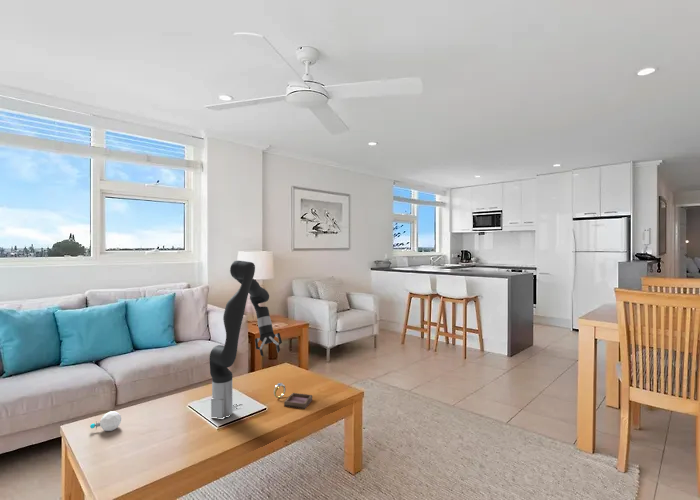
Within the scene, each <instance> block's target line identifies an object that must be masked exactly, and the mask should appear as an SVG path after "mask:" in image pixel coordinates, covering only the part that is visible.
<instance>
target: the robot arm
mask: <svg viewBox="0 0 700 500" xmlns="http://www.w3.org/2000/svg"><path fill="white" fill-rule="evenodd" d="M229 273H230V276H231V277H232V278H233V279H234V280H236V282H238V283H239V284H241V285H240V286H239V289H238V290H237V292H235V293H234V295H232V296H231V298H230V299H229V300H228V301H227V302H226V305H225V308H224V312H223V318H222V320H223V325H224V329H225V334H226V335H225V343H224V345H215V346H214V347H213V348H212V349H211V351H210V353H209V372H210V376H211V397H212V398H210V410H211V411H210V412H211V413H210V416H211V417H217V418H223V417H226V416H229V415H231V414H232V412H233V411H234V410H233V373H232V370H230V369H229V368H231V367H232V366H233V364H234V363H235V360H236V359H237V354H238V346H239V345H238V344H239V338H240V333H241V327H242V323H243V319H244V314H245V310H246V305H247V301H248V296H249V300H250V302H251V304H252V305H253V308H254V311H255V313H256V318H257V320H256V321H257V327H258V331H259V332H258V334H259V337H256V338H255V339H254V343H255V349H256V350H258V351H259V352H260V353H259V355H260V356H261V357H264V350H263V347H264V346H265V345H268V344H272V343H273V344H275V347H276V352H277V354H279V353H280V352H281V349H280V348H281V347H280V346H281V344H282V343H283V342H282V337H281V333H280V332H278V333H275V332H274V327H273V324H272V323H273V322H272V319H271V316H270V311H269V307H268V306H260V304H262V303H266V302H268V301H269V300H270V294H269V292H268V290H266V289H265V288H264V287H262V286H261V285H260V284H259V282H258V281H257V280H256V279H254V277H255V273H256V265H255V263H254V262H251V261H244V260H234V261H233V262H232V263H231V265H230V270H229ZM275 337H276V338H278V341H277V340H275ZM259 342H261V344H260V345H259ZM232 415H233V414H232ZM232 415H231V416H232ZM211 417H210V418H211Z"/></svg>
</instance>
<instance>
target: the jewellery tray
mask: <svg viewBox="0 0 700 500" xmlns="http://www.w3.org/2000/svg"><path fill="white" fill-rule="evenodd" d="M312 401H313V395H312V394H305V393H304V394H303V393H298V392H292V393H291V394H290V395H289V396H288V397H287V398H286V399H285V400H284V402H283V404H284V405H283V407H287V408H292V409H299V410H300V409H301V410H305V409H306V408H307V407H308V406H309V404H310V403H311V402H312Z"/></svg>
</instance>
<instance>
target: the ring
mask: <svg viewBox="0 0 700 500" xmlns="http://www.w3.org/2000/svg"><path fill="white" fill-rule="evenodd" d="M281 387H282V389H283V391H282V393H281V395H279V396H277V391H278V390H279V389H280V388H281ZM286 390H287V389H286V385H285V384H283V382H278V383H277V384H276V385H275V386H274V389H273V397H275V398H277V399H281V398H283V396H284V395H286Z"/></svg>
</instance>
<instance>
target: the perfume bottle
mask: <svg viewBox="0 0 700 500" xmlns="http://www.w3.org/2000/svg"><path fill="white" fill-rule="evenodd" d="M121 422H122V415H121V414H120V413H119V412H117V411H114V410H113V411H111V410H110V411H108V412H107V413H105V414H103V415H102V417H101V418H100V420H99V422H97V421H95V423H91V424H90V425H89V427H90V429H97V428H98V427H100V428H101V429H102V430H103V431H104V432H113V431H114V430H116V429H117V428H119V426H120V424H121Z"/></svg>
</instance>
